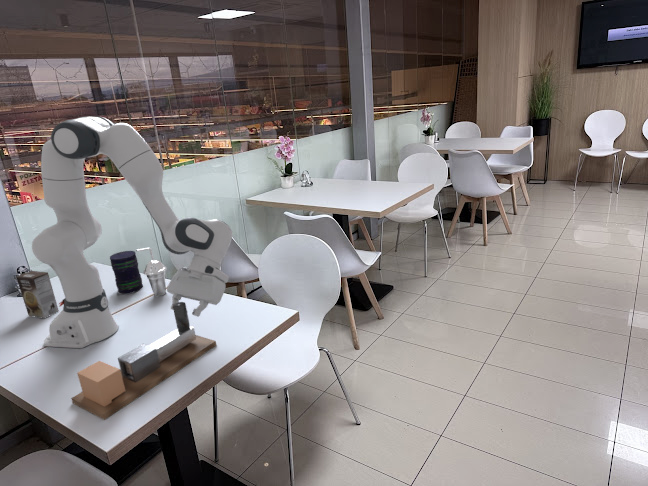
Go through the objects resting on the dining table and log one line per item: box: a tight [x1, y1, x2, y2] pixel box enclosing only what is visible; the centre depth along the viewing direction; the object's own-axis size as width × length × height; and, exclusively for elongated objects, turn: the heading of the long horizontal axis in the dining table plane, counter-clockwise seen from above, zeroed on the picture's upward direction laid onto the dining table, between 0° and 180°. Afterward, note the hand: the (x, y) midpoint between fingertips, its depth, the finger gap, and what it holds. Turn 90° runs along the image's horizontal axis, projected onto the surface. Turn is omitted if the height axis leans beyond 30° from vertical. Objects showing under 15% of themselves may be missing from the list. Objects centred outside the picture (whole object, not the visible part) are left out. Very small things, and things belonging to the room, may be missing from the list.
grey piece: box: [125, 301, 196, 375], centre depth 129 cm, size 21×4×12 cm, turn 147°
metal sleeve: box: [117, 343, 161, 383], centre depth 125 cm, size 8×6×6 cm
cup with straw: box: [135, 247, 168, 297], centre depth 178 cm, size 8×9×20 cm
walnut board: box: [70, 334, 217, 421], centre depth 128 cm, size 37×14×2 cm, turn 147°
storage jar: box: [109, 250, 144, 295], centre depth 187 cm, size 10×10×15 cm
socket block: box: [76, 360, 125, 407], centre depth 116 cm, size 6×9×7 cm, turn 57°
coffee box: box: [15, 270, 60, 319], centre depth 170 cm, size 9×6×16 cm
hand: (184, 312), depth 136 cm, fingers open, 8 cm apart
